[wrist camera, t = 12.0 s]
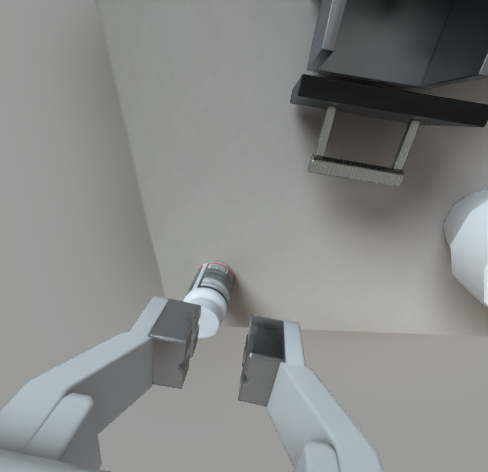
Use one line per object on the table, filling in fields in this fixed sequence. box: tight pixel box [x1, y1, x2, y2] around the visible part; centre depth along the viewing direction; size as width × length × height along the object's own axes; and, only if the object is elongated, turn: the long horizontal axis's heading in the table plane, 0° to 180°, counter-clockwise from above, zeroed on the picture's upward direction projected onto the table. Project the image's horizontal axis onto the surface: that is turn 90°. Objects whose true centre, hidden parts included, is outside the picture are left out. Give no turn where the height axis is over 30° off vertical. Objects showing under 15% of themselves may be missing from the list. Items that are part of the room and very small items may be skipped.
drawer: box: [290, 0, 488, 188], centre depth 18 cm, size 18×12×8 cm, turn 171°
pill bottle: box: [184, 262, 234, 338], centre depth 29 cm, size 5×5×8 cm
